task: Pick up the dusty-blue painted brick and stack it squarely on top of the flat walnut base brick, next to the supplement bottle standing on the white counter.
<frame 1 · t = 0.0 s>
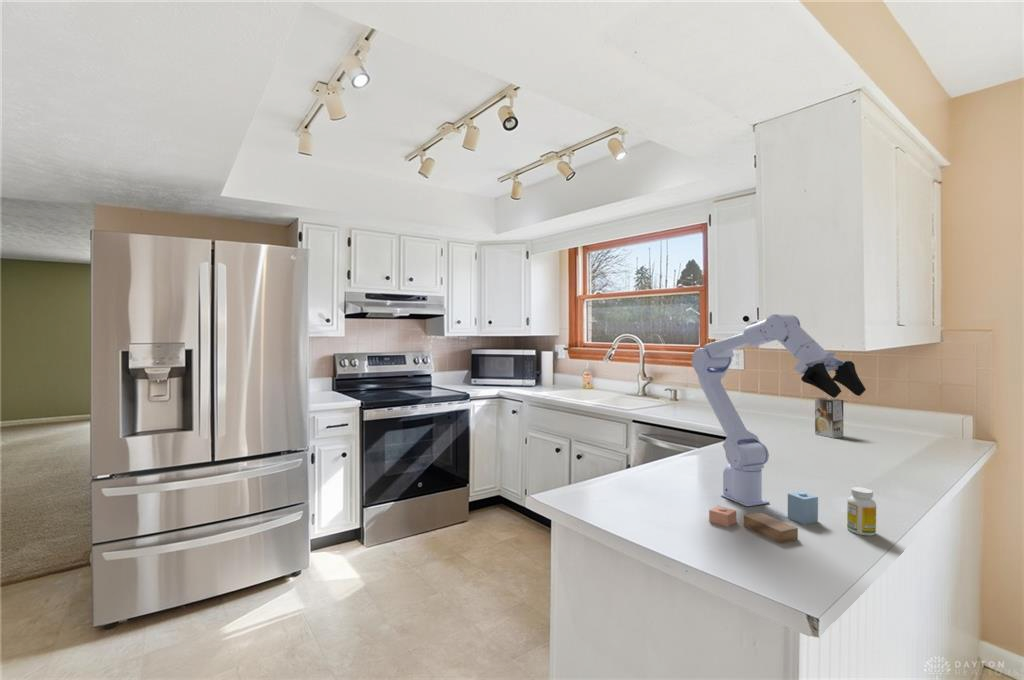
hand: (849, 393, 106), 32 cm above the counter, tool tilted 50°, fingers open, 7 cm apart
supplement bottle: (861, 532, 112), on the counter
blue brick: (802, 519, 119), on the counter
base brick: (769, 534, 111), on the counter
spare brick: (722, 522, 118), on the counter
coffee box: (828, 436, 213), on the counter
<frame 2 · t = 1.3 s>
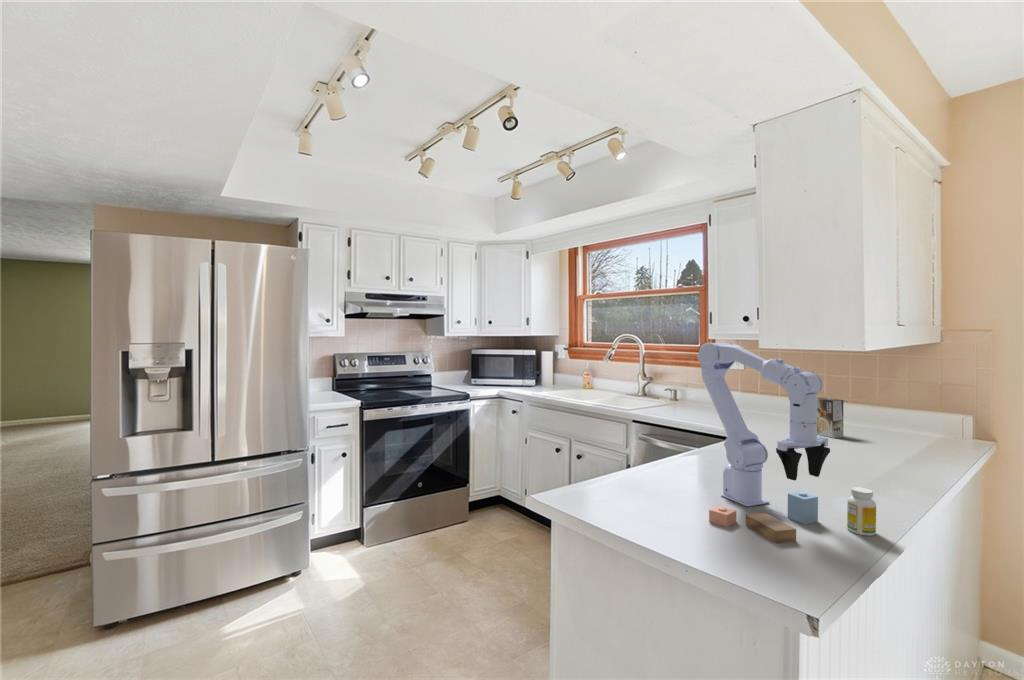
hand: (802, 477, 119), 10 cm above the counter, tool pointing down, fingers open, 7 cm apart
nothing on the counter moved.
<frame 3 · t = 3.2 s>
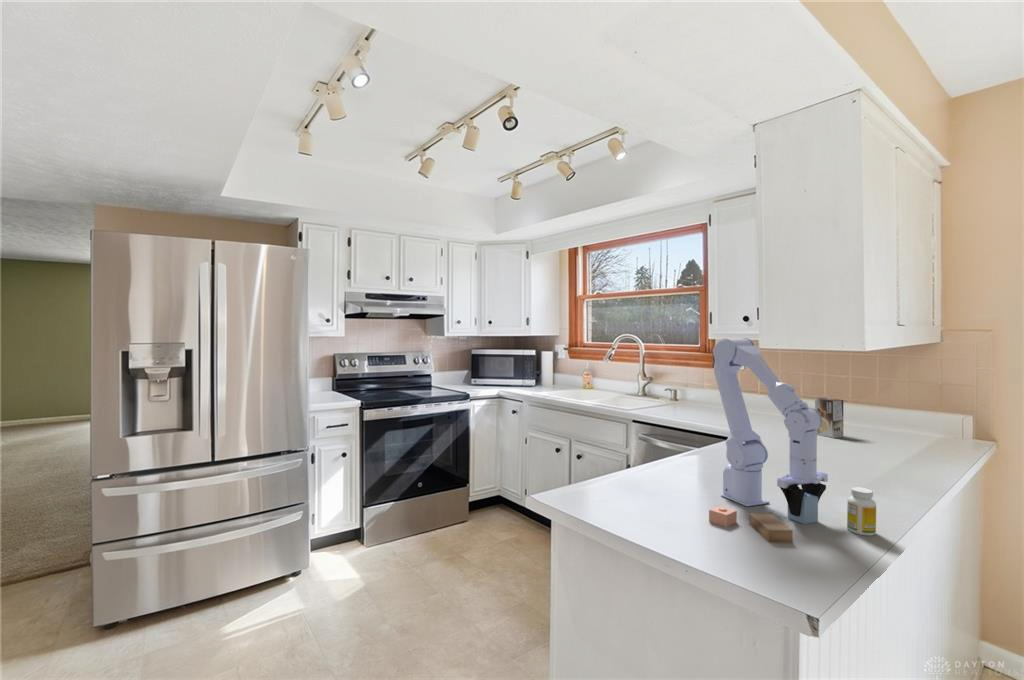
hand: (802, 513, 119), 1 cm above the counter, tool pointing down, fingers closed on blue brick, 4 cm apart
blue brick: (802, 519, 119), on the counter, touching gripper
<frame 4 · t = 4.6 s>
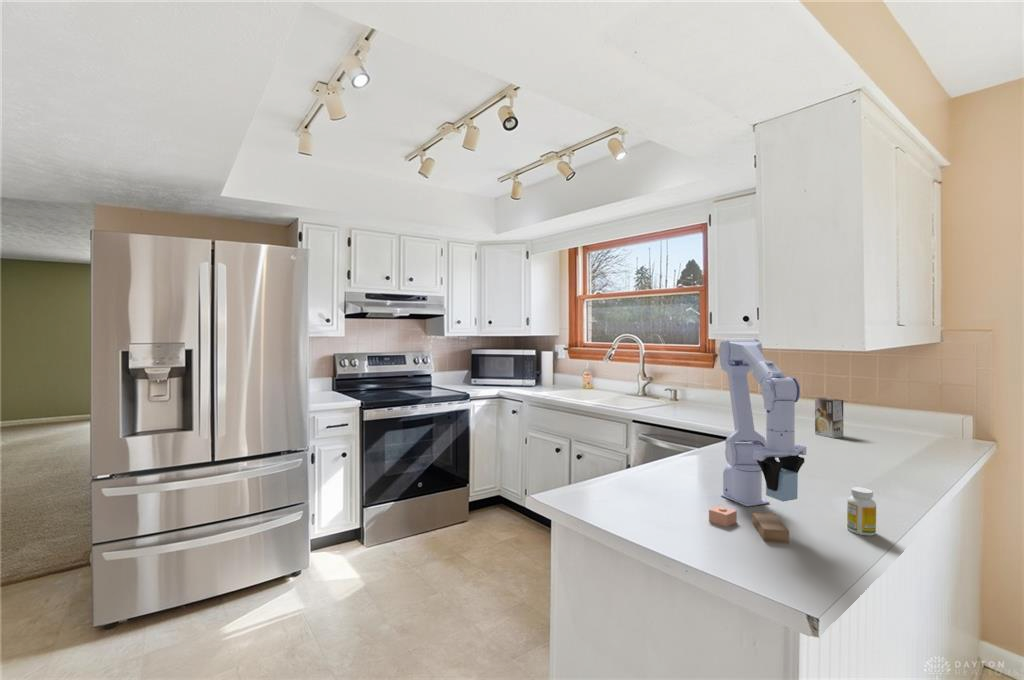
hand: (780, 488, 113), 9 cm above the counter, tool pointing down, fingers closed on blue brick, 4 cm apart
blue brick: (781, 497, 113), point 8 cm above the counter, touching gripper
when the fingers open (5 cm above the counter, at t = 6.4 s): blue brick stays where it is, resting on base brick.
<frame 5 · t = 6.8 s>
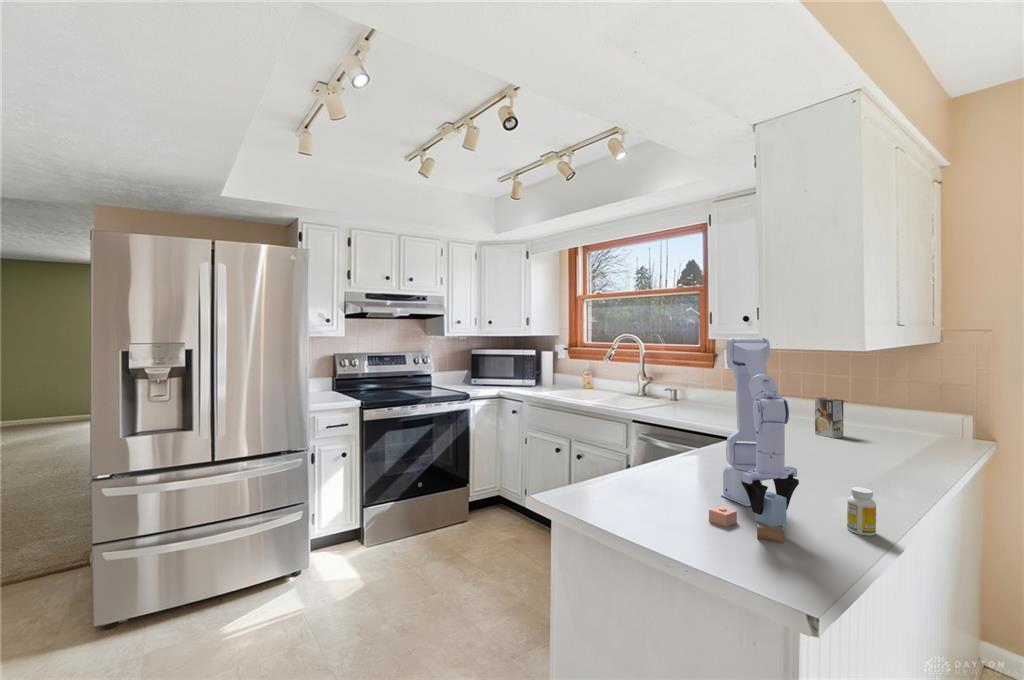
hand: (769, 510, 111), 5 cm above the counter, tool pointing down, fingers open, 7 cm apart
blue brick: (770, 522, 111), point 3 cm above the counter, touching base brick
base brick: (769, 534, 111), on the counter, touching blue brick
everything else where it was.
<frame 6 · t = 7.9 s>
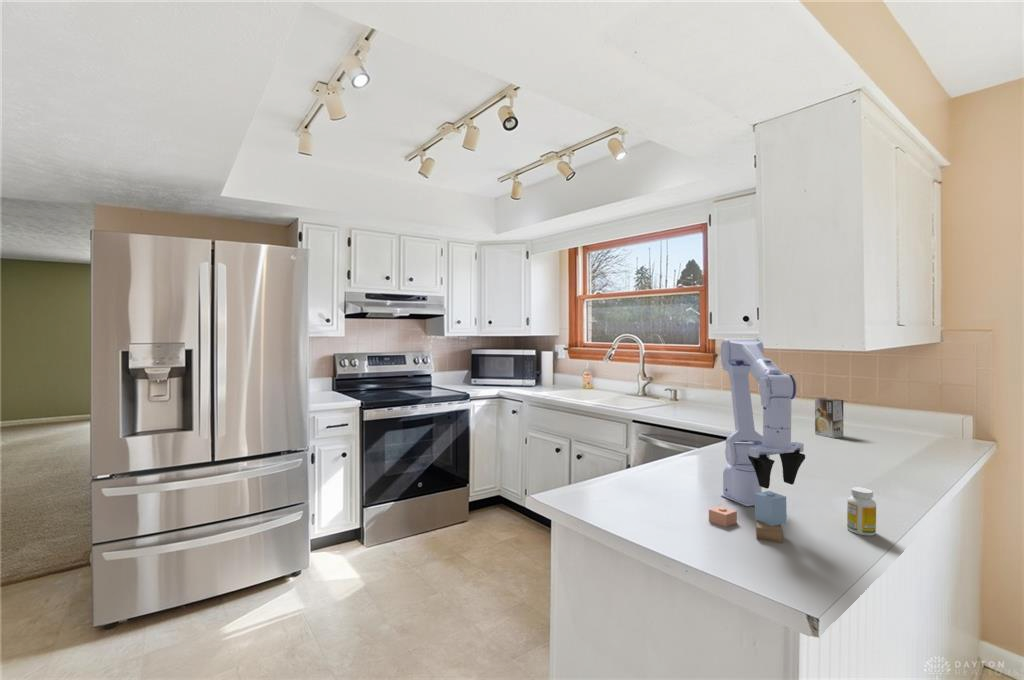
hand: (776, 485, 113), 10 cm above the counter, tool pointing down, fingers open, 7 cm apart
blue brick: (770, 521, 111), point 3 cm above the counter
base brick: (768, 534, 111), on the counter
everything else where it was.
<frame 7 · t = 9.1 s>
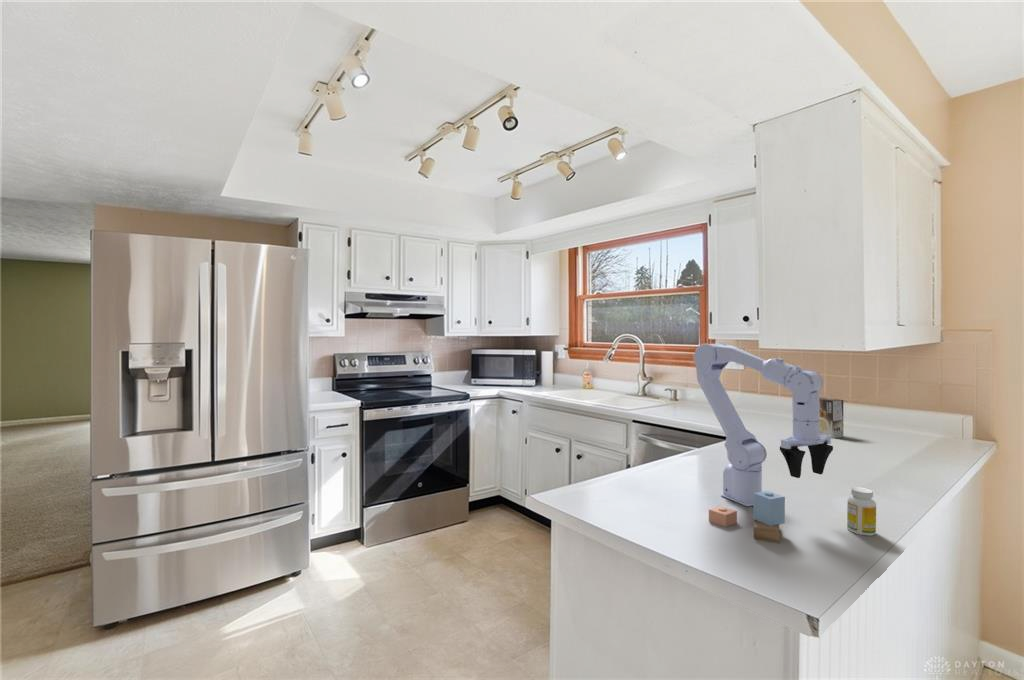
hand: (806, 475, 120), 10 cm above the counter, tool pointing down, fingers open, 7 cm apart
blue brick: (768, 521, 111), point 3 cm above the counter, touching base brick
base brick: (766, 534, 111), on the counter, touching blue brick
everything else where it was.
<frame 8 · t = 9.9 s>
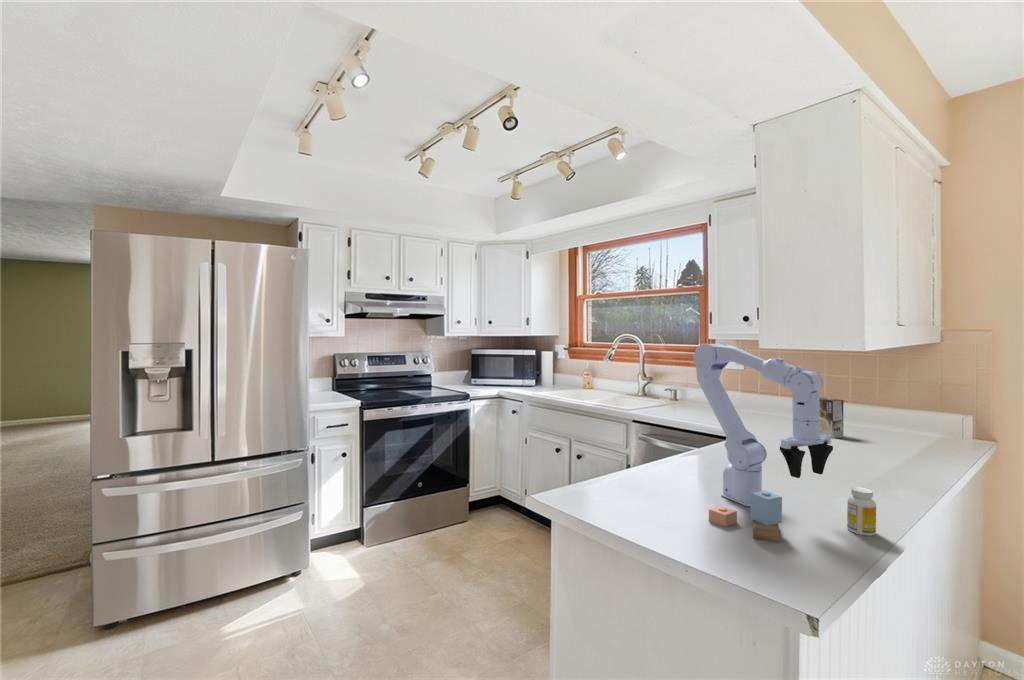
hand: (806, 475, 120), 10 cm above the counter, tool pointing down, fingers open, 7 cm apart
blue brick: (765, 520, 112), point 3 cm above the counter
base brick: (765, 534, 111), on the counter
everything else where it was.
at the end: blue brick 0.2 cm off-centre on the base brick, point 3.0 cm above the base brick's base; blue brick tilted 0° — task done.
